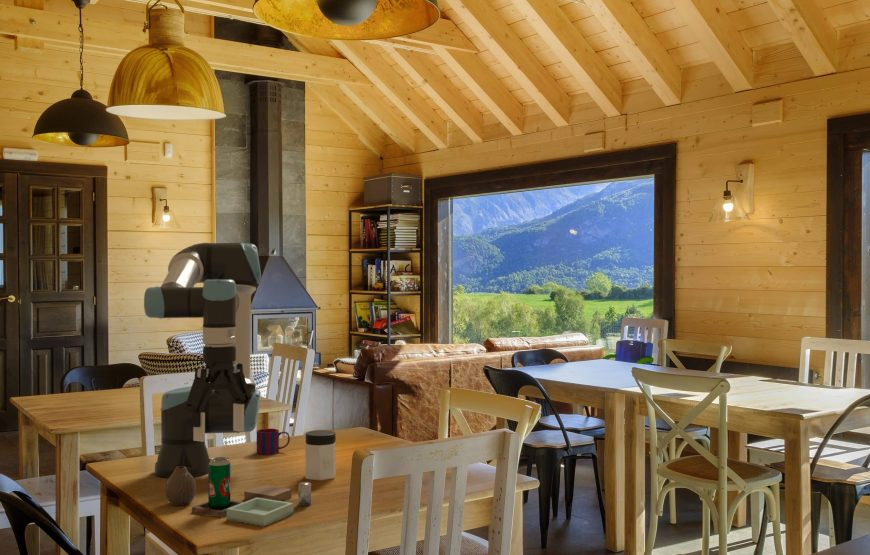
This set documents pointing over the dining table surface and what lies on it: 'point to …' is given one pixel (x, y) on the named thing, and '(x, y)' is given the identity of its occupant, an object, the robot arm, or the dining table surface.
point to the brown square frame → (204, 509)
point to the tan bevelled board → (268, 493)
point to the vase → (180, 487)
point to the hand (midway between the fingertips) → (219, 435)
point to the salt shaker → (304, 494)
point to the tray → (260, 511)
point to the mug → (269, 441)
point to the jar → (320, 455)
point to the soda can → (219, 483)
